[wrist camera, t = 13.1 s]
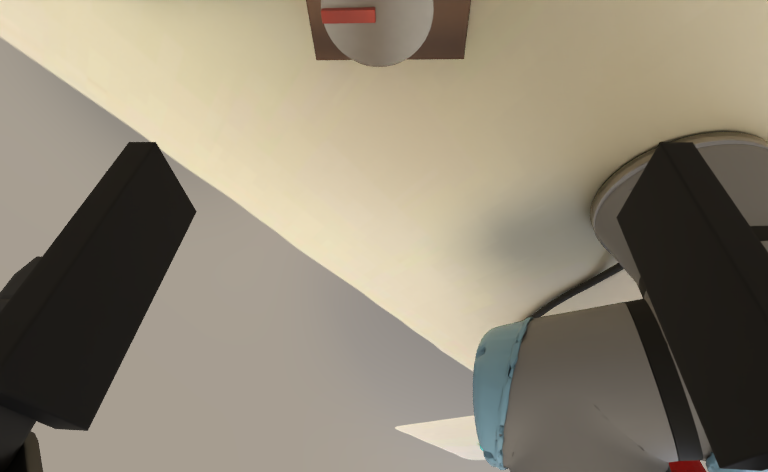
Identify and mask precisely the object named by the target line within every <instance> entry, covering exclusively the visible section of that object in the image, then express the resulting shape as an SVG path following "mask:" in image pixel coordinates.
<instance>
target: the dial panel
mask: <svg viewBox="0 0 768 472" xmlns="http://www.w3.org/2000/svg"><path fill="white" fill-rule="evenodd" d="M306 2H307V8H308V14H309V20H310V25H311V31H312V37H313V43H314V49H315V54H316V60H352V59H351V58H349V57H347V56H346V55H345V54H344V53H342V52H341V51H340V50H339V49H338V48H337V46H336V45H335V44H334V43H333V41H332V40H331V38H330V37H329V35H328V33H327V31H326V28H325V25H324V24H323V23H322V17H321V0H306ZM470 2H471V0H433V7H434V12H433V20H432V25H431V28H430V31H429V33H428V36H427V37H426V39H425V41H424V43H423V44H422V45H421V47H420V48H419V49H418V50H417V51H416V52H415V53H414V54H413V55H412V56H410V57H409V58H407V59H464V53H465V45H466V36H467V28H468V19H469V11H470Z"/></svg>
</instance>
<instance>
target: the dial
mask: <svg viewBox="0 0 768 472" xmlns="http://www.w3.org/2000/svg"><path fill="white" fill-rule="evenodd" d="M433 12H434V7H433V0H321V17H322V23H323V24H324V25H325V28H326V31H327V33H328V35H329V37H330V38H331V40H332V41H333V43H334V44H335V45H336V46H337V48H338V49H339V50H340V51H341V52H342V53H344V54H345V55H346V56H347V57H349V58H351V59H352V60H354V61H356V62H358V63H361V64H364V65H368V66H373V67H385V66H391V65H394V64H397V63H400V62H402V61H404V60H406V59H407V58H409V57H410V56H412V55H413V54H414V53H415V52H416V51H417V50H418V49H419V48H420V47H421V45H422V44H423V43H424V41H425V39H426V37H427V36H428V33H429V31H430V28H431V25H432V20H433Z"/></svg>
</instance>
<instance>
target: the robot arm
mask: <svg viewBox="0 0 768 472" xmlns="http://www.w3.org/2000/svg"><path fill="white" fill-rule="evenodd" d="M195 213H196V210H195V208H194V207H193V205H192V203H191V202H190V200H189V198H188V196H187V195H186V193H185V191H184V190H183V188H182V186H181V185H180V183H179V181H178V179H177V178H176V176H175V174H174V173H173V171H172V170H171V168H170V166H169V164H168V162H167V161H166V159H165V158H164V156H163V154H162V152H161V150H160V149H159V147H158V145H157V144H156V142H129V143H128V144H127V146H126V147H125V148H124V150H123V151H122V152H121V154H120V155H119V156H118V158H117V159H116V160H115V162H114V163H113V165H112V166H111V167H110V168H109V169H108V171H107V172H106V173H105V175H104V176H103V177H102V179H101V180H100V182H99V183H98V184H97V185H96V187H95V188H94V189H93V191H92V192H91V193H90V195H89V196H88V197H87V199H86V200H85V201H84V203H83V204H82V205H81V207H80V208H79V209H78V211H77V212H76V213H75V214H74V216H73V217H72V218H71V220H70V221H69V222H68V224H67V225H66V226H65V228H64V229H63V230H62V232H61V233H60V234H59V236H58V237H57V238H56V239H55V241H54V242H53V243H52V245H51V246H50V247H49V249H48V250H47V251H46V253H45V254H44V255H43V257H36V258H34V259H33V260H32V261H31V262H29V263H28V264H27V265H26V266H24V267H23V268H22V269H21V270H20V271H18V272H17V273H16V274H14V276H13V277H12V278H11V280H10V281H9V282H8V283H7V285H6V286H5V287H4V288H3V290H2V291H1V292H0V472H43V469H42V463H41V456H40V449H39V443H38V440H37V438H36V435H35V434H34V433H33V432H31V429H32V427H33V425H34V424H35V422H36V421H38V422H40V423H43V424H45V425H47V426H50V427H52V428H55V429H69V430H84V431H87V430H88V428H89V427H90V425H91V423H92V421H93V419H94V417H95V415H96V413H97V411H98V409H99V407H100V405H101V403H102V401H103V399H104V397H105V395H106V393H107V391H108V388H109V387H110V385H111V383H112V381H113V379H114V376H115V374H116V373H117V370H118V368H119V367H120V364H121V362H122V360H123V358H124V356H125V354H126V352H127V350H128V348H129V346H130V344H131V342H132V340H133V338H134V336H135V334H136V332H137V330H138V328H139V326H140V324H141V322H142V320H143V318H144V316H145V314H146V312H147V310H148V308H149V306H150V304H151V302H152V300H153V298H154V296H155V294H156V292H157V290H158V288H159V286H160V284H161V282H162V280H163V278H164V276H165V274H166V272H167V269H168V268H169V266H170V264H171V262H172V260H173V258H174V256H175V254H176V252H177V250H178V247H179V246H180V244H181V242H182V240H183V237H184V236H185V234H186V232H187V230H188V227H189V225H190V223H191V221H192V219H193V217H194V215H195ZM590 219H591V223H592V226H593V228H594V231H595V234H596V237H597V238H598V240H599V241H600V243H601V244H602V245H603V247H604V248H605V249H606V250H607V251H609V252H610V253H611V254H612V255H613V256H614V257H615V259H616V260H617V261H618V262H619V263H617V264H615V265H614V266H612V267H610V268H609V269H607V270H605V271H603V272H602V273H600V274H598V275H597V276H595V277H593V278H591V279H589V280H588V281H586V282H584V283H582V284H580V285H578V286H576V287H575V288H573V289H571V290H569V291H567V292H566V293H564V294H562V295H560V296H559V297H557V298H556V299H554V300H552V301H551V302H549V303H548V304H547V305H545V306H544V307H542V308H541V309H539V310H538V311H537V312H535V313H534V314H533V315H532V316H531V317H529V318H526V319H525V320H524V321H520V322H516V323H512V324H507V325H503V326H499V327H495V328H493V329H491V330H490V331H488V332H487V333H486V334H485V335H484V337H483V338H482V340H481V342H480V344H479V346H478V349H477V353H476V359H475V363H474V374H473V405H474V416H475V424H476V430H477V435H478V440H479V443H480V446H481V448H482V449H483V452H484V457H485V459H486V460H487V462H488V463H489V464H490V465H491V466H493V467H497V468H499V469H500V470H506V469H508V468H509V469H510V471H511V472H671V469H670V466H669V462H675V461H694V460H703V461H706V466H707V469H708V471H709V472H768V142H767V141H765V140H763V139H761V138H759V137H756V136H754V135H750V134H746V133H739V132H712V133H704V134H698V135H693V136H689V137H685V138H681V139H678V140H675V141H672V142H660V143H659V145H658V146H657V147H656V148H654V149H652V150H650V151H648V152H646V153H644V154H642V155H640V156H638V157H637V158H635V159H633V160H632V161H630V162H629V163H627V164H626V165H624V166H623V167H622V168H620V169H619V170H618V171H617V172H615V173H614V174H613V175H612V176H611V177H610V178H609V179H608V180H607V181H606V182H605V183H604V184H603V186H602V187H601V188H600V190H599V191H598V193H597V194H596V196H595V198H594V200H593V202H592V206H591V210H590ZM622 269H625V270H626V272H627V273H628V274H629V275H630V276H631V277H632V278H633V279H634V281H635V282H636V283H637V285H638V287H639V290H640V292H641V294H642V297H643V299H640V300H634V301H629V302H622V303H617V304H611V305H605V306H600V307H594V308H589V309H583V310H578V311H572V312H567V313H561V314H556V315H550V316H544V317H541V316H542V315H544V314H545V313H546V312H548V311H549V310H551V309H552V308H554V307H555V306H557V305H559V304H560V303H562V302H564V301H565V300H567V299H569V298H571V297H573V296H574V295H576V294H578V293H580V292H582V291H584V290H586V289H588V288H590V287H592V286H594V285H595V284H597V283H599V282H601V281H603V280H605V279H606V278H608V277H610V276H612V275H614V274H615V273H617V272H619V271H621V270H622Z"/></svg>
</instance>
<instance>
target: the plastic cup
mask: <svg viewBox="0 0 768 472" xmlns="http://www.w3.org/2000/svg"><path fill="white" fill-rule="evenodd" d="M669 466H670V469H671V472H706V471H705V469H704V467H703V466H702V464H701V462H700V460H694V461H675V462H669Z"/></svg>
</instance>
